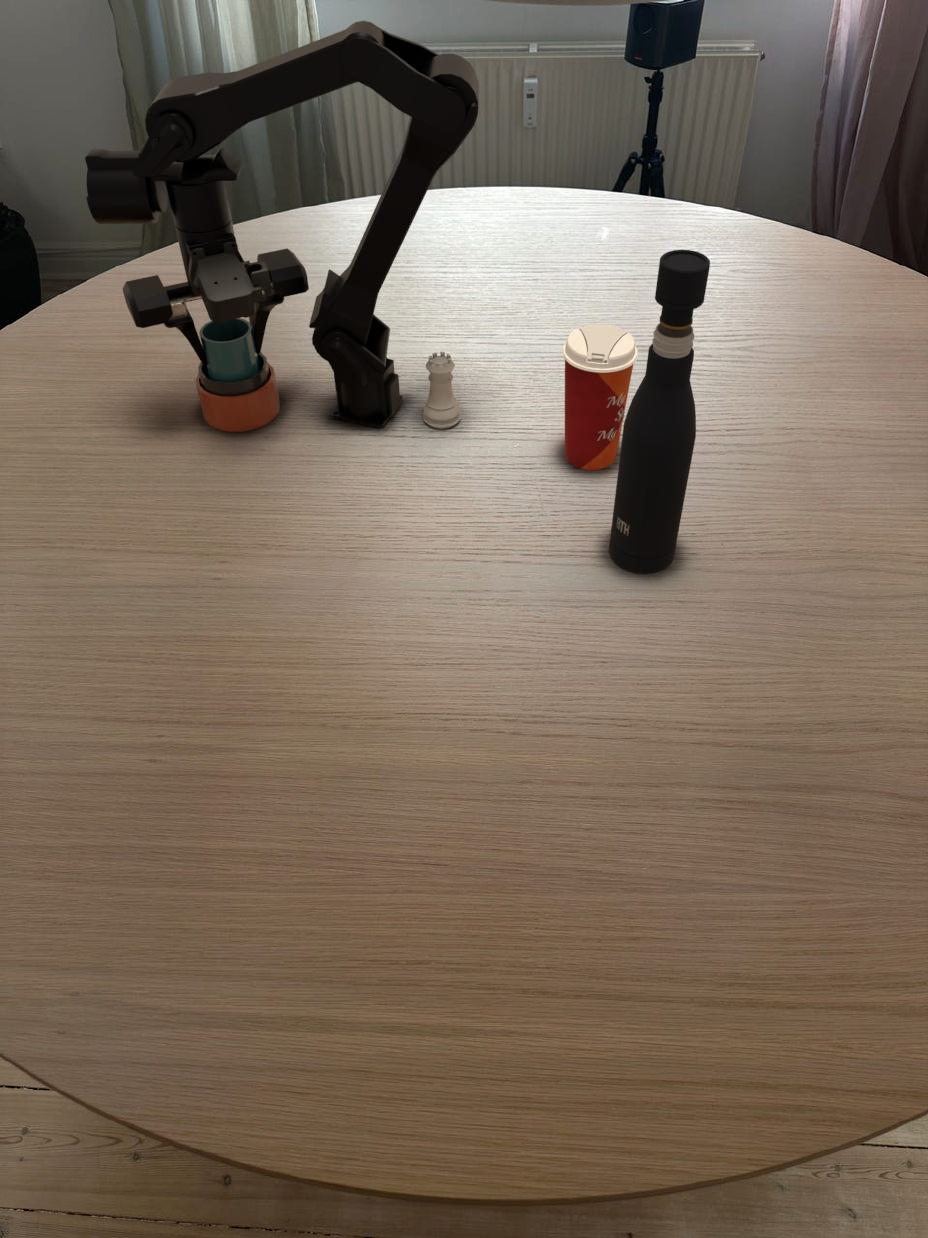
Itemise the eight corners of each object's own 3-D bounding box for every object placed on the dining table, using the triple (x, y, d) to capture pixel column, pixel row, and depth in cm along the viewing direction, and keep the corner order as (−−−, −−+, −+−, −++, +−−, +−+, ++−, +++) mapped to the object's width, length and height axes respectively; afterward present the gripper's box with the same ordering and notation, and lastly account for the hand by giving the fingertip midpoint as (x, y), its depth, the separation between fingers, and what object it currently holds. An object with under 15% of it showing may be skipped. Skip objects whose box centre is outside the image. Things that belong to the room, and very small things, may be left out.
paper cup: (622, 479, 105) (636, 363, 95) (551, 471, 106) (557, 356, 97) (628, 438, 111) (642, 324, 101) (560, 430, 112) (568, 317, 102)
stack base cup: (189, 423, 114) (180, 389, 111) (228, 383, 120) (221, 350, 117) (256, 438, 112) (250, 404, 108) (293, 397, 118) (287, 363, 114)
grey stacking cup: (196, 421, 114) (185, 376, 110) (229, 387, 119) (220, 342, 115) (254, 434, 112) (245, 388, 108) (286, 398, 117) (278, 353, 113)
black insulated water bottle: (679, 538, 98) (733, 247, 77) (667, 579, 94) (720, 284, 73) (616, 525, 100) (652, 236, 79) (601, 565, 96) (635, 272, 74)
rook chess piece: (467, 413, 115) (466, 352, 109) (451, 433, 112) (449, 371, 106) (433, 405, 116) (430, 343, 110) (416, 424, 113) (412, 363, 107)
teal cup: (203, 397, 112) (189, 337, 107) (228, 371, 116) (216, 313, 111) (247, 406, 111) (235, 346, 106) (271, 380, 115) (261, 321, 109)
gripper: (126, 272, 92) (164, 414, 103) (315, 234, 97) (333, 373, 108) (104, 226, 99) (142, 364, 110) (282, 193, 104) (301, 327, 115)
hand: (231, 357), depth 111 cm, fingers closed on teal cup, 6 cm apart
